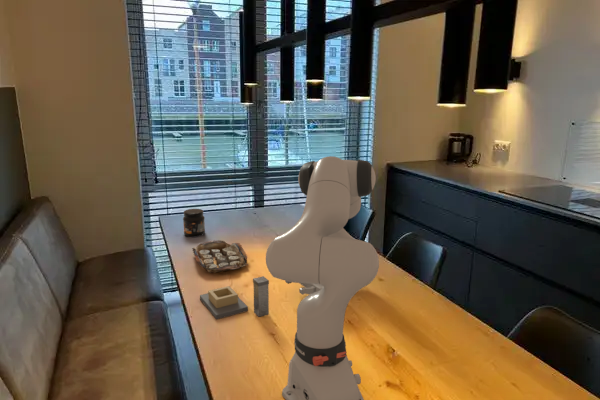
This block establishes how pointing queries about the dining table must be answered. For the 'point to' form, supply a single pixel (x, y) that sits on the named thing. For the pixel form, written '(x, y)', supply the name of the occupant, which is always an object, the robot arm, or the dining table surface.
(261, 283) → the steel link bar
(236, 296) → the keeper plate
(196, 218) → the supplement container
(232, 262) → the baking tray
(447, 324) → the dining table surface
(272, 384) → the dining table surface
